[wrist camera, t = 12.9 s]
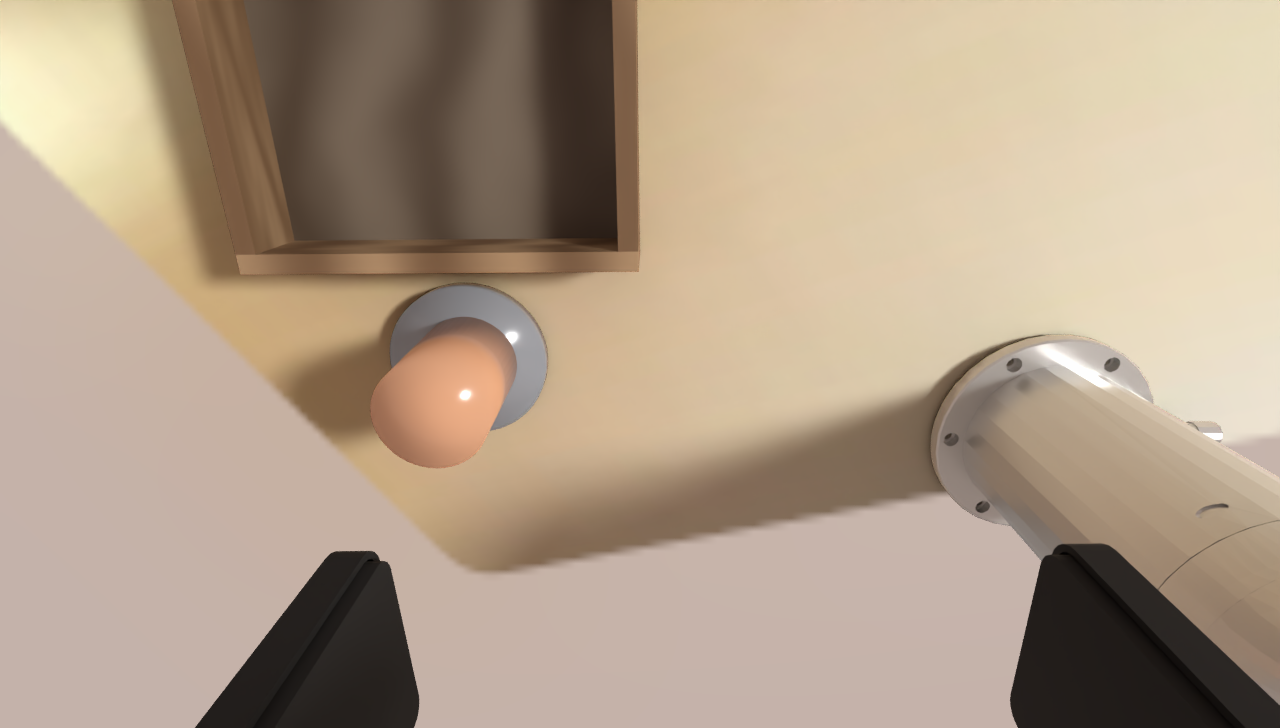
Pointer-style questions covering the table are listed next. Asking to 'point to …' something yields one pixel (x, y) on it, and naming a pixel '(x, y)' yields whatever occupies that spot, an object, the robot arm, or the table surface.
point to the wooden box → (421, 133)
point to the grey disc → (499, 314)
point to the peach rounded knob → (445, 393)
